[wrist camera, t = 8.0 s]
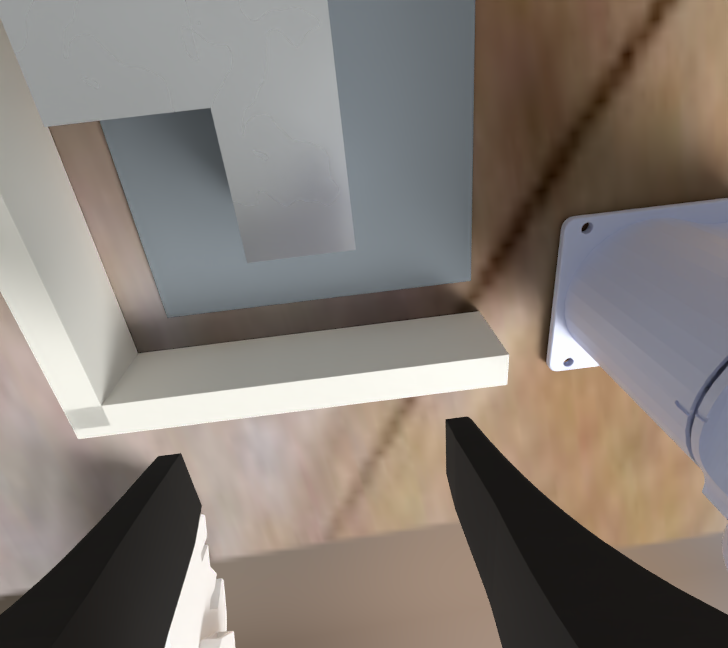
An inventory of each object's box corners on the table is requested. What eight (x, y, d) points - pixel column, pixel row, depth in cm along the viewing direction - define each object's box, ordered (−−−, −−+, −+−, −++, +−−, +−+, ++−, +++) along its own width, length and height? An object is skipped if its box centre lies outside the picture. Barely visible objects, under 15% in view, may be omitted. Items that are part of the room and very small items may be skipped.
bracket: (348, 211, 19) (355, 249, 14) (157, 234, 19) (106, 280, 14) (320, -26, 15) (319, -72, 11) (81, 0, 15) (-22, -36, 10)
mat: (474, -47, 15) (476, -49, 15) (469, 279, 21) (470, 280, 21) (59, -3, 15) (56, -4, 15) (168, 315, 21) (167, 317, 20)
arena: (492, -183, 14) (550, -275, 10) (478, 337, 22) (507, 384, 19) (-105, -124, 13) (-258, -198, 10) (117, 382, 22) (78, 439, 19)
